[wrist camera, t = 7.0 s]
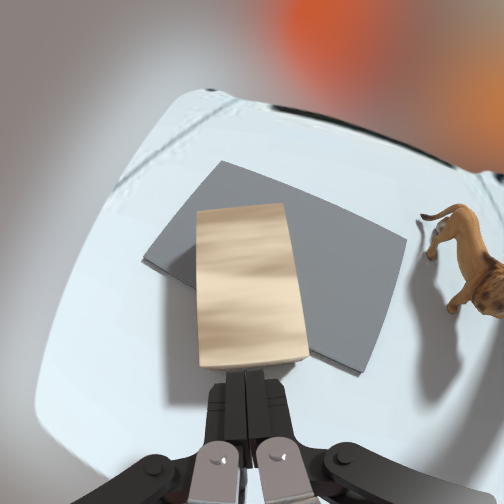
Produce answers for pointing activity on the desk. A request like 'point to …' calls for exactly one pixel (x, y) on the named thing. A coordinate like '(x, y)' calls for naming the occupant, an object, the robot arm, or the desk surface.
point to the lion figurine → (471, 261)
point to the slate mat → (303, 258)
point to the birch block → (247, 289)
